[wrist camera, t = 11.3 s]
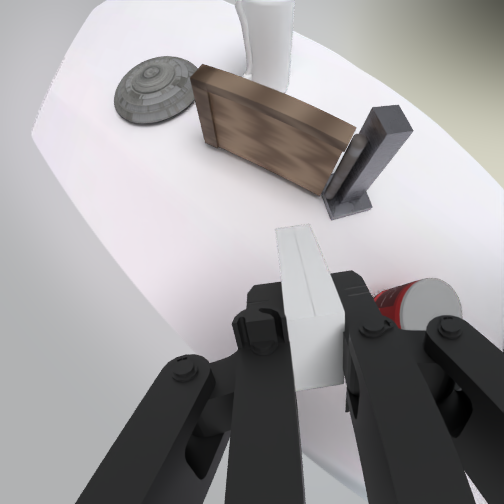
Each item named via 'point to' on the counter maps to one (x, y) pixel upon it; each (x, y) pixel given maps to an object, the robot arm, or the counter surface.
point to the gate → (275, 130)
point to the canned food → (418, 303)
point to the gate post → (370, 160)
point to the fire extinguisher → (267, 40)
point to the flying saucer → (155, 90)
